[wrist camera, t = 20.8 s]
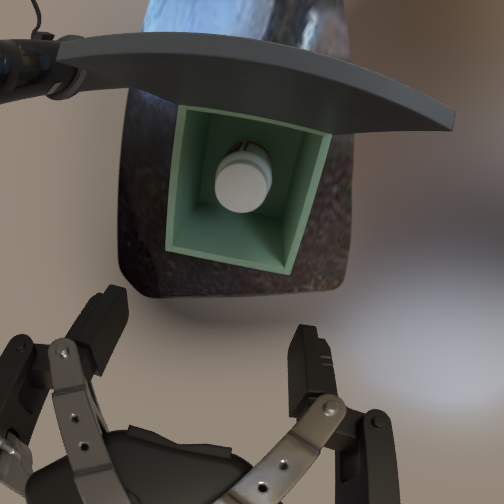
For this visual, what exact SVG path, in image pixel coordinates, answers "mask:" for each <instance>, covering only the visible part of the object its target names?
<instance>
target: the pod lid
mask: <svg viewBox="0 0 504 504" xmlns="http://www.w3.org/2000/svg"><path fill="white" fill-rule="evenodd" d="M56 61H57V62H60V63H63V64H67V65H70V66H74V67H77V68H80V69H84V70H87V71H90V72H93V73H96V74H99V75H102V76H105V77H108V78H111V79H114V80H116V81H119V82H122V83H125V84H127V85H130V86H133V87H135V88H138V89H141V90H143V91H146V92H148V93H151V94H153V95H156V96H158V97H160V98H163V99H165V100H168V101H170V102H172V103H175V104H177V105H184V106H193V107H201V108H209V109H216V110H222V111H229V112H235V113H241V114H246V115H252V116H257V117H262V118H267V119H272V120H276V121H281V122H285V123H289V124H294V125H298V126H302V127H306V128H310V129H313V130H317V131H321V132H324V133H328V134H331V135H339V134H351V133H366V132H386V131H452V130H453V125H454V119H455V111H454V110H452V109H451V108H449V107H447V106H445V105H444V104H441V103H440V102H438V101H436V100H434V99H433V98H431V97H429V96H427V95H425V94H423V93H421V92H419V91H417V90H415V89H413V88H411V87H408V86H406V85H404V84H402V83H400V82H398V81H395V80H393V79H391V78H388V77H386V76H384V75H381V74H379V73H376V72H374V71H371V70H368V69H365V68H363V67H360V66H357V65H354V64H352V63H349V62H346V61H343V60H340V59H336V58H333V57H330V56H327V55H323V54H320V53H316V52H312V51H308V50H305V49H301V48H296V47H292V46H288V45H283V44H278V43H273V42H268V41H262V40H256V39H250V38H243V37H236V36H227V35H218V34H206V33H189V32H141V33H124V34H113V35H103V36H95V37H88V38H82V39H76V40H70V41H65V42H61V44H60V47H59V50H58V54H57V57H56Z"/></svg>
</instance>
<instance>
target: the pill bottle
mask: <svg viewBox="0 0 504 504" xmlns="http://www.w3.org/2000/svg"><path fill="white" fill-rule="evenodd" d="M271 184H272V164H271V158H270V155H269V153H268V151H267V150H266V149H265V148H264V147H263V146H262V145H260V144H259V143H256V142H253V141H243V142H239V143H237V144H235V145H234V146H233V147H231V148H230V150H229V151H228V152H227V153H226V155H225V156H224V158H223V159H222V160H221V162H220V163H219V165H218V167H217V170H216V174H215V193H216V197H217V199H218V200H219V202H220V203H221V204H222V205H223V206H224V207H225V208H227V209H228V210H230V211H233V212H237V213H246V212H250V211H253V210H255V209H256V208H258V207H259V206H260V205H261V204H262V203H263V201H264V200H265V197H266V195H267V194H268V192H269V190H270V187H271Z"/></svg>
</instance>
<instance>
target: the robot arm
mask: <svg viewBox="0 0 504 504" xmlns="http://www.w3.org/2000/svg"><path fill="white" fill-rule="evenodd" d="M31 2H32V4H33V7H34V9H35V12H36V15H37V26H36V27H35V28H34V30H33V31H32V34H31V40H30V39H29V40H27V39H10V40H0V104H4V103H8V102H12V101H16V100H21V99H26V98H31V97H36V96H42V95H48V94H58V93H63V92H65V91H67V90H68V89H69V88H71V87H72V86H73V84H74V83H75V82H76V80H77V79H78V77H79V75H80V72H81V69H80V68H77V67H74V66H70V65H67V64H63V63H60V62H57V61H56V57H57V54H58V50H59V47H60V44H61V42H63V41H53V39H54V37H55V35H53V34H51V33H49V32H38V31H37V30H38V29H39V28H40V26H41V12H40V9H39V6H38V4H37V2H36V0H31ZM64 42H65V41H64ZM128 316H129V309H128V300H127V291H126V288H123V287H119V286H115V285H109V286H108V288H107V289H106V291H105V292H104V294H103V293H97V294H96V295H94V296H93V297H91V298H90V299H89V301H88V302H87V304H86V305H85V308H83V310H82V311H81V314H80V315H79V316H78V317H77V319H76V320H75V322H74V324H73V325H72V327H71V328H70V330H69V331H68V333H67V335H66V336H65V338H59V339H57V340H55V341H53V342H52V343H51V344H50V345H45V344H34V343H33V341H32V339H31V338H30V337H29V336H28V335H25V334H19V335H16V336H14V337H13V338H12V339H11V340H10V342H9V343H8V345H7V346H6V348H5V350H4V351H3V353H2V355H1V356H0V482H1V483H2V484H4V485H5V486H7V487H8V488H10V489H11V490H13V491H15V492H16V493H18V494H19V495H22V496H23V497H25V498H26V503H27V504H283V503H282V502H281V500H282V499H283V498H284V497H285V495H286V494H287V493H288V492H289V491H290V490H291V489H292V488H293V487H294V485H295V484H296V483H297V482H298V481H299V480H300V478H301V477H302V476H303V475H304V474H305V472H306V471H307V470H308V469H309V468H310V466H311V465H312V464H313V463H314V461H315V460H316V459H317V457H318V456H319V454H320V451H321V449H322V448H323V447H326V448H329V449H332V450H335V504H400V491H399V479H398V470H397V461H396V452H395V445H394V438H393V431H392V425H391V420H390V418H389V416H388V415H387V414H386V413H385V412H383V411H381V410H378V409H373V410H370V411H368V412H367V413H366V414H365V413H361V412H359V411H356V410H352V409H350V408H348V407H346V405H345V403H344V402H343V400H342V399H341V398H339V397H338V394H337V387H336V381H335V374H334V368H333V362H332V359H331V358H332V356H331V350H330V347H329V345H328V344H327V342H326V340H325V339H322V338H318V334H317V329H316V327H315V326H310V325H303V324H299V326H298V328H297V330H296V332H295V334H294V337H293V339H292V341H291V343H290V346H289V349H288V357H287V359H288V391H289V392H288V393H289V417H294V418H297V423H296V424H295V425H294V426H293V427H292V429H291V430H290V431H289V432H288V433H287V434H286V435H285V436H284V437H283V438H282V439H281V440H280V441H279V442H278V443H277V444H276V445H275V447H274V448H273V449H272V450H271V451H270V452H269V453H268V454H267V455H266V456H265V457H264V458H263V459H262V460H261V461H260V462H259V463H258V464H257V465H256V466H255V467H253V466H252V465H251V464H250V463H249V462H247V461H246V460H244V459H243V458H241V457H239V456H237V455H235V454H232V453H231V451H232V448H230V447H222V446H217V445H211V444H177V443H174V442H172V441H170V440H168V439H166V438H164V437H162V436H160V435H158V434H156V433H155V432H152V431H149V430H145V429H142V428H138V427H135V426H131V425H129V427H128V430H116V431H111V432H109V429H108V427H107V425H106V423H105V421H104V418H103V416H102V413H101V410H100V407H99V404H98V402H97V399H96V395H95V392H94V389H93V385H92V382H91V379H92V377H93V375H94V374H95V375H97V376H100V377H101V376H102V374H103V372H104V370H105V368H106V365H107V363H108V361H109V359H110V356H111V355H112V353H113V350H114V348H115V346H116V344H117V342H118V340H119V338H120V336H121V334H122V332H123V330H124V328H125V326H126V324H127V321H128ZM50 389H54V393H52V400H53V405H54V409H55V413H56V418H57V421H58V425H59V429H60V433H61V436H62V440H63V443H64V446H65V449H66V453H67V455H66V456H64V457H62V458H61V459H59V460H57V461H55V462H53V463H51V464H49V465H47V466H45V467H44V468H42V469H40V470H37V471H36V472H34V473H33V470H32V463H33V462H32V453H31V451H30V449H29V447H28V445H29V442H30V439H31V436H32V433H33V430H34V428H35V425H36V422H37V419H38V417H39V414H40V412H41V409H42V407H43V404H44V402H45V399H46V397H47V395H48V392H49V390H50Z"/></svg>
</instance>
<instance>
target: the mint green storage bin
mask: <svg viewBox="0 0 504 504" xmlns="http://www.w3.org/2000/svg"><path fill="white" fill-rule="evenodd" d="M331 137H332V135H331V134H328V133H324V132H321V131H317V130H313V129H310V128H306V127H302V126H298V125H294V124H289V123H285V122H281V121H276V120H272V119H267V118H262V117H257V116H252V115H246V114H241V113H235V112H229V111H222V110H216V109H209V108H201V107H193V106H184V105H179V108H178V115H177V122H176V129H175V137H174V145H173V153H172V163H171V172H170V183H169V195H168V208H167V224H166V244H165V251H170V252H175V253H180V254H185V255H189V256H194V257H199V258H204V259H209V260H214V261H219V262H224V263H229V264H234V265H239V266H244V267H249V268H254V269H260V270H265V271H270V272H275V273H280V274H286V275H290V273H291V270H292V267H293V264H294V261H295V258H296V255H297V252H298V249H299V246H300V242H301V239H302V236H303V233H304V230H305V227H306V223H307V220H308V217H309V214H310V210H311V207H312V204H313V200H314V197H315V194H316V190H317V187H318V184H319V180H320V177H321V173H322V170H323V166H324V163H325V159H326V156H327V152H328V148H329V145H330V141H331ZM243 141H253V142H256V143H259V144H260V145H262V146H263V147H264V148H265V149H266V150H267V151H268V153H269V155H270V158H271V164H272V184H271V187H270V190H269V192H268V194H267V195H266V197H265V200H264V201H263V203H262V204H261V205H260V206H259V207H258V208H256V209H255V210H253V211H250V212H246V213H237V212H233V211H230V210H228V209H227V208H225V207H224V206H223V205H222V204H221V203H220V202H219V200H218V199H217V197H216V193H215V174H216V170H217V167H218V165H219V163H220V162H221V160H222V159H223V158H224V156H225V155H226V153H227V152H228V151H229V150H230V148H231V147H233V146H234V145H235V144H237V143H239V142H243Z"/></svg>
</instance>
